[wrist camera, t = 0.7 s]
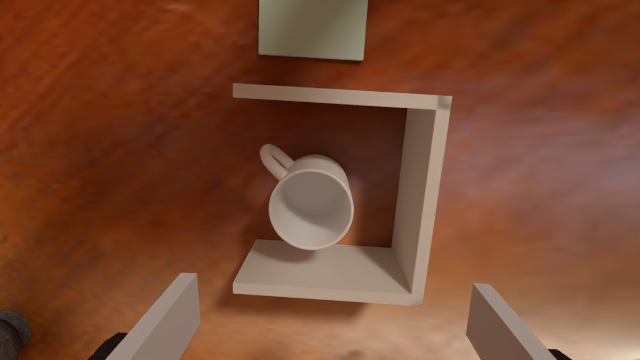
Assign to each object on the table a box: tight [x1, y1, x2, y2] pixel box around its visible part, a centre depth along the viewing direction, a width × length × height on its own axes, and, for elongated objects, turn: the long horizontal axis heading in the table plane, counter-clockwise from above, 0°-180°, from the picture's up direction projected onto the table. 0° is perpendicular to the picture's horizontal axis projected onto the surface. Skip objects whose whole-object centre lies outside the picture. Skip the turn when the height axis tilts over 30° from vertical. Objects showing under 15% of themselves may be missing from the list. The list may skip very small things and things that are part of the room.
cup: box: [260, 144, 354, 250], centre depth 37 cm, size 8×12×10 cm
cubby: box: [233, 83, 452, 306], centre depth 37 cm, size 20×19×11 cm
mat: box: [258, 0, 368, 61], centre depth 37 cm, size 12×12×1 cm
